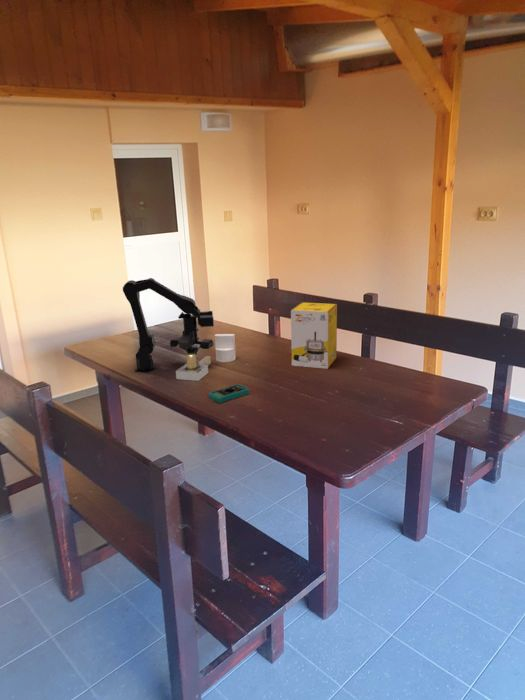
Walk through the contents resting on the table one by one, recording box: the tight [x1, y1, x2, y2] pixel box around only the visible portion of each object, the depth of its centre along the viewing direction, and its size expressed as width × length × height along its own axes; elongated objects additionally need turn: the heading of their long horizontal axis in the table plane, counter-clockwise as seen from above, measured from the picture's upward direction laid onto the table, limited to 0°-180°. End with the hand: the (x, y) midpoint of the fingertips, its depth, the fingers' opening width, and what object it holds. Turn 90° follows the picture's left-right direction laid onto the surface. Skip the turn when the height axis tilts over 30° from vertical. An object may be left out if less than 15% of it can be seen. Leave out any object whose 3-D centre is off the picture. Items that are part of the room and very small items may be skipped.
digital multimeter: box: [208, 383, 250, 404], centre depth 205 cm, size 7×15×3 cm, turn 129°
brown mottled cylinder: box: [185, 353, 197, 371], centre depth 225 cm, size 4×4×10 cm
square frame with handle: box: [175, 355, 212, 382], centre depth 231 cm, size 10×22×4 cm, turn 162°
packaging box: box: [290, 302, 338, 370], centre depth 238 cm, size 16×16×25 cm
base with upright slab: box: [214, 333, 237, 363], centre depth 246 cm, size 9×9×12 cm
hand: (192, 361), depth 239 cm, fingers closed
